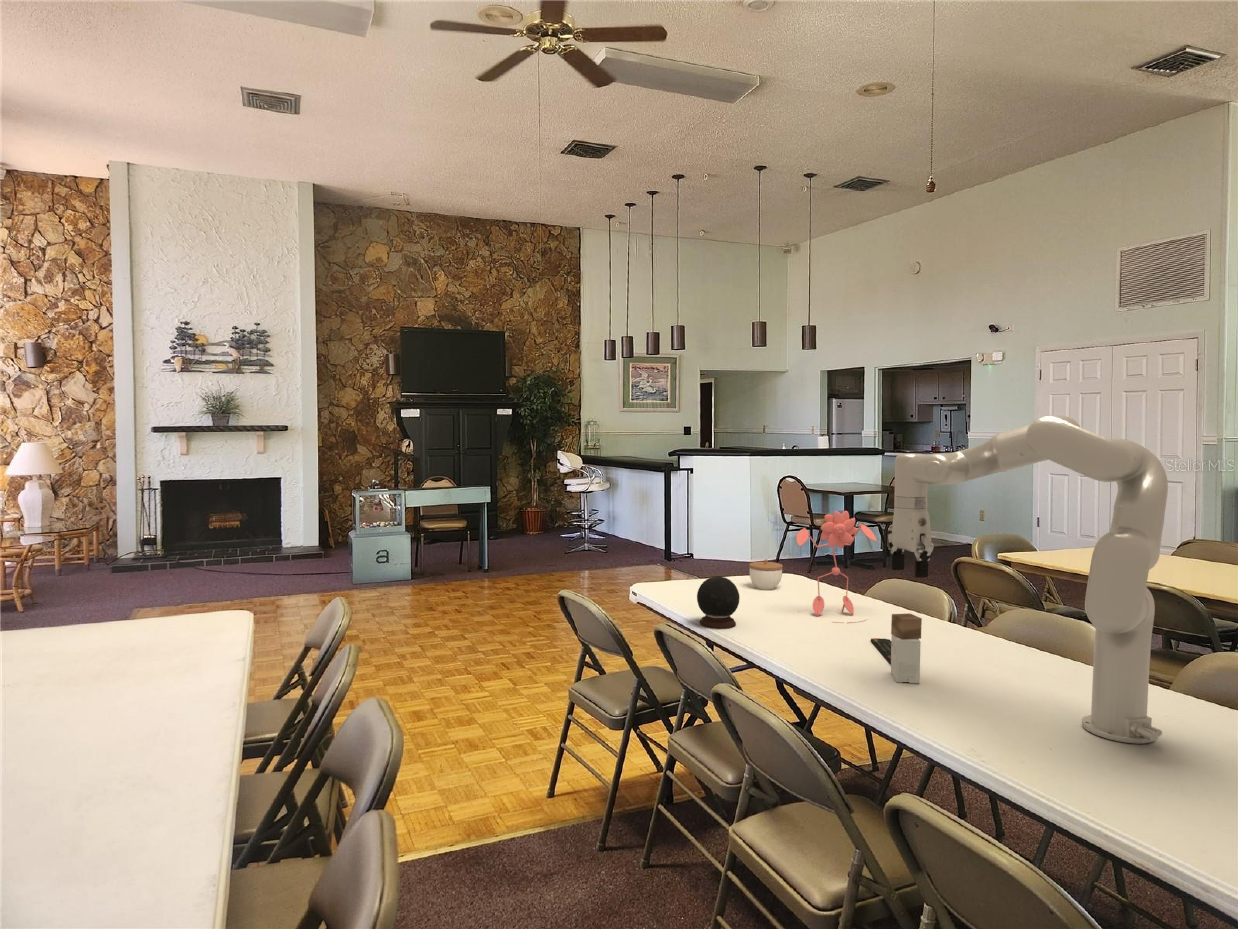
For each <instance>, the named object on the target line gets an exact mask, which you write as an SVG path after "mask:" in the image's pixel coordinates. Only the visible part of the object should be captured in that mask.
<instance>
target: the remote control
mask: <svg viewBox="0 0 1238 929" xmlns="http://www.w3.org/2000/svg"><path fill="white" fill-rule="evenodd" d="M870 642H871V643H872V644H873V646H874V647H875V648H876V649H877V651H878V652H879V653H880V654H881V656H882V657H883V658H884V659H885V660H886V662H888V664H890V666H891V639H889V638H880V637H879V638H876V637H875V638H870Z"/></svg>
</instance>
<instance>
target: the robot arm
mask: <svg viewBox="0 0 1238 929" xmlns="http://www.w3.org/2000/svg"><path fill="white" fill-rule="evenodd" d="M1044 461H1045V462H1046V461H1051V462H1052V463H1055V464H1057V465H1060V466H1062V467H1064V468H1067V469H1069V470H1071V471H1073V472H1075V473H1078V474H1080V475H1082V476H1084V477H1087V478H1089V479H1090V480H1091V479H1092V480H1094V481H1098V482H1103V483H1112V482H1115V483H1116V485H1117V493H1116V498H1115V501H1114V505H1113V513H1112V518H1111V524H1110V529H1109V532H1107V533H1105V534H1104V535H1103V536H1101V537H1100V538H1098V540H1097V542H1096V544H1095V546H1094V547H1093V550H1092V554H1091V555H1092V556H1091V560H1090V564H1089V572H1088V579H1087V584H1086V589H1085V590H1086V591H1085V598H1084V610H1085V614H1086V616H1087V618H1088V620H1089V621H1090V622H1091V624H1092V625H1093V626H1095V631H1094V641H1093V642H1094V646H1093V663H1092V664H1093V665H1092V687H1091V688H1092V689H1091V690H1092V691H1091V706H1090V707H1091V710H1090V714H1089V715H1085V716H1084V717H1082V719H1081V726H1082V727H1083V728H1084V729H1085V730H1086V731H1088V732H1090V733H1091V734H1093V735H1096V736H1098V737H1100V738H1101V737H1102V738H1104V739H1107V740H1111V741H1115V742H1120V743H1121V742H1122V743H1127V744H1136V745H1137V744H1140V745H1141V744H1149V743H1152V742H1156V741H1157V740H1158V739H1159V737H1162V735H1163V731H1162V730H1161V729H1159V728H1157V727H1153V726H1152V721H1153V720H1152V717H1150V716H1149V715H1148V703H1149V702H1148V700H1149V683H1150V681H1149V680H1150V679H1149V678H1150V662H1151V648H1152V647H1151V645H1152V635H1153V628H1154V621H1155V612H1156V611H1155V610H1156V608H1155V607H1156V606H1155V600H1154V597H1153V594H1152V592H1151V591H1150V589H1149V588H1148V587H1147V583H1148V578H1149V572H1150V570H1151V569H1153V568H1154V567H1155V566H1156V564H1157V563H1158V562H1159V559H1160V552H1161V544H1162V543H1161V542H1162V536H1163V530H1164V525H1165V517H1166V515H1165V514H1166V509H1167V499H1168V492H1169V491H1168V490H1169V489H1168V488H1169V486H1168V485H1169V482H1168V477H1167V473H1166V470H1165V467H1164V465H1163V464H1162V462H1161V461H1160V459H1159V458H1158V457H1157V455H1155V454H1154V453H1153V452H1151V451H1150V450H1149V449H1147V448H1146V447H1144V446H1143V445H1142V444H1140V443H1137V442H1135V441H1132V440H1128V439H1123V438H1108V437H1106V436H1103V435H1101V434H1098V433H1096V432H1093V431H1092V430H1091V431H1090V430H1088V429H1085V428H1084V427H1081V425H1080V424H1079V423H1078V422H1077V421H1076V420H1074V419H1073V418H1071V417H1069V416H1067V415H1066V416H1065V415H1053V414H1052V415H1051V414H1050V415H1044V416H1041V417H1039V418H1036V419H1035V420H1034V421H1033V422H1031V423H1029V424H1025V425H1023V426H1020V427H1016V428H1012V429H1009V430H1006V431H1002V432H998V433H997V434H995V435H993V436H992V437H991V438H990V439H989V440H988V441H986V442H984V443H981V444H978V445H975V446H973V447H968V448H965V449H962V450H958V451H954V452H940V453H930V454H924V453H914V452H913V453H911V452H910V453H909V452H908V453H900V454H897V455H896V457H895V460H894V503H893V504H894V508H893V509H894V512H893V517H892V525H891V526H892V528H891V533H889V534H888V535H887V537H888V543H889V544H888V546H889V548H890V553H891V570H892V571H903V570H905V553H904V552H905V551H908V552H912V553H914V555H915V558H916V560H915V561H914V577H915V578H917V579H918V578H928V576H929V561H930V560H931V557H932V556H933V551H934V549H935V548H934V547H935V546H934V545H935V544H934V543H933V542H932V530H931V529H932V528H931V527H932V526H931V518H930V513H929V511H928V489H929V488H928V487H929V486H928V485H932V486H946V485H956V484H960V483H965V482H969V481H972V480H975V479H979V478H983V477H987V476H991V475H993V474H997V473H1003V472H1007V471H1011V470H1015V469H1018V468H1022V467H1026V466H1029V465H1030V466H1031V465H1033V464H1036V463H1041V462H1044Z"/></svg>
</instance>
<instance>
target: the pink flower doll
mask: <svg viewBox="0 0 1238 929" xmlns="http://www.w3.org/2000/svg"><path fill="white" fill-rule="evenodd" d="M824 521H825V523H823V524H822V525H821V526H820V530H821V531H822V532H821V534H820V539H821V541H825V540H827V543H825V544H820V545H817V543H816V542H815V540H814V539H813V538H812V536H811V535H810V533H809V530H808V529H807V528H806V527H802V529H800V530H799V531H798V532H797V534H796V543H797V545H798V546H799V548H801V547H802V546H803V545H804V544H806V542H807V541H808V540H809V539H810V540H811V541H812V543H813V544H814V546H815V547H816V548H817V549H818V548H822V547H826V546H829V548H833V549H832V556H833V561H834V567H832V568H831V572H829V573H826V574H824V575H821V576H818V577H817V594H818V595H817V596H815V597H814V599H813V600H812V601H813V602H812V609H813V612H814V614H815V616H816V617H818V616H819V615H820V614H821V613H823V611H824V609H825V600H824V598H823V597H822V596H821V595H820V580H819V579H821V578H823V577H825V576H828V575H831V574H832V575H833V576H838V575H841V576H844V577H845V578H846V592H845V595H843V596H842V602H843V605H842V608H841V613H843V612H844V611H845V610H844V609H846V610H847V611H848V612H849V614H851V615H852V616H854V604H853V602H852V600H850V598H849V596H848V588H849V586H848V585H849V577H848V576H846V575H845V574H844V573H843V572H841V569H840V568H839V567H838V565H837V560H836V559H837V558H836V554H835V553H836V552H835V550H836V548H835V547H836V546H837V547H838V548H840V549H843V548H844V547H845V546H851V545H852V544H853V542H854V541H855V538H856V536H857V534H858V533H859V530H860V529H861V532H862V533H863V534H864V535H865V536H866V537H867V538H868V539H869V540H871V541H873V542H875V543H878V541H877V537H876V535H875V534H874V532H873V531H872V530H871V528H869V527H868V526H867V525H865V524H863V523H859V524H858V525H859V526H858V528H857V527H855V525H856V518H855V517H852V518H850V514H849V511H847V510H844V511H843V512H842V513H841V512H840V511H838V510H835V511H834V512H833V514H830V513H829V514H828V513H827V514H825V515H824ZM797 612H799V610H797ZM861 622H862V623H863V622H866V619H864V620H860V621H859V623H861ZM833 623H834V624H836V623H837V624H843V622H837V621H833ZM854 623H857V621H854V622H851V621H850V622H848V624H854Z"/></svg>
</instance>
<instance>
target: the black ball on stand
mask: <svg viewBox="0 0 1238 929" xmlns="http://www.w3.org/2000/svg"><path fill="white" fill-rule="evenodd" d="M696 593H697V594H696V601H697V602H696V603H697V604H698V608H699V609H700V610H701V612H702V613H703V614H704V616H702V617H701V619H700V620H699V625H700V626H701V627H703V628H706V629H710V630H711V629H714V630H728V629H729V630H730V629H733V628H736V625H737V623H736V621H735V619H734V618H733V617H731V616H732V615H733V614H734V613H735V612H736V611H737V609H738V607H739V605H740V592H739V589H738V588H737V586H736V584H735V583H734V582H733V581H732V580H731V579H728V578H727V577H725V576H718V575H717V576H712V577H711V576H710V577H709V578H707V579H704V581H703V582H702V583H701V584H700V586H699V587H698V590H697V592H696Z"/></svg>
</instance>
